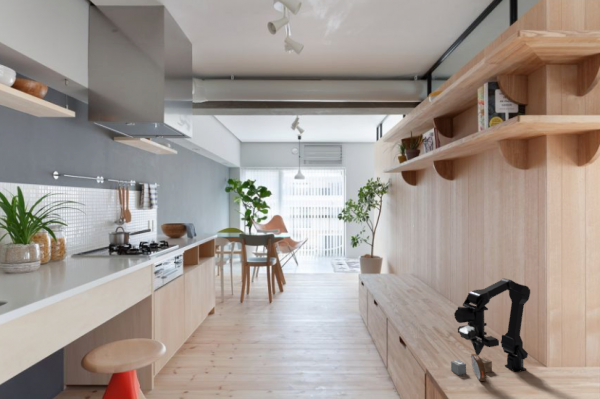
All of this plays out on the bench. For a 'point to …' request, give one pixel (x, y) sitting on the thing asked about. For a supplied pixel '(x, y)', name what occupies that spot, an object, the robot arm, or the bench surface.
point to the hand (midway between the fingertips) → (477, 354)
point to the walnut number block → (487, 364)
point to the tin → (478, 367)
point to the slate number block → (458, 367)
